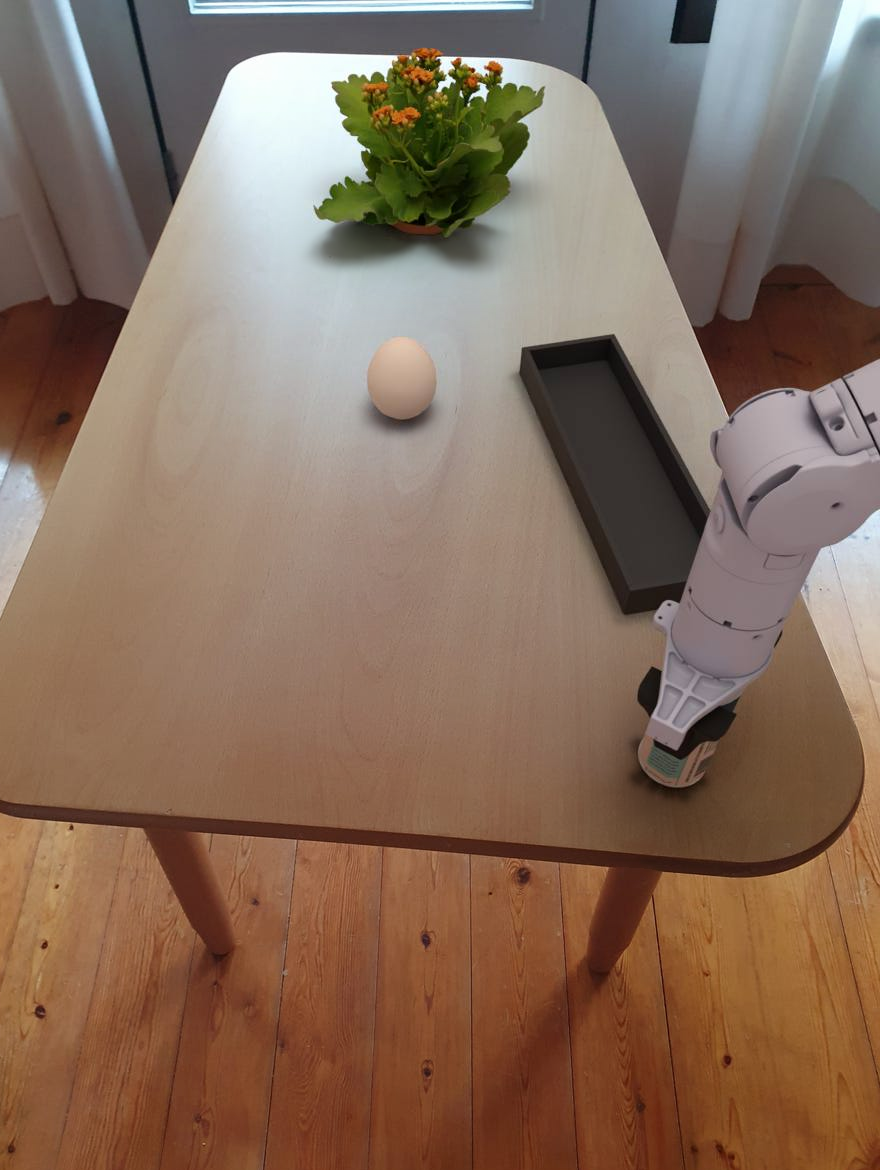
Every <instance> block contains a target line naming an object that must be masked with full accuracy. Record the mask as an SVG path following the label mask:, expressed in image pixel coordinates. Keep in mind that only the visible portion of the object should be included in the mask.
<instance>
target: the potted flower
mask: <svg viewBox="0 0 880 1170" xmlns="http://www.w3.org/2000/svg"><path fill="white" fill-rule="evenodd" d="M443 55H444V52H441V51H440V50H438V49H436V48H432V47H430V49H429V48H428V47H419V48H418V49H413V50H412V52H411V54H410V55H406V54H404V55H403V54H400V55H397V56H396V58H397V60H394V59H392V60H391V66H392V67H389V68H388V70H387V74H386V77H385V76H384V75H383V73H381V72H380V71H373V73H371V76H370V79H368V77H367V76H366V75H365V74H364V73H363V74H361V75H360V76H358V74H357V73H351V74H349V75H348V76H347V80H348V81H347V80H343V81H340V80H336V81H331V82H330V84H331V88H332V90H333V91H334V92H335V93H337V94H336V95H335V96H334V101H335V104H336V106H337V107H338V108H339V113H340V114H341V115H343V116H344V117H345V118H344V119H343V120H342V121H341V126H342V127H343V129H344V130H345V131H346V132H348V133H349V135H350V136H351V137H357V138H356V141H357V142H358V144H360V145H361V146H362V147H364V148H365V150H361V151H360V158H361V162H362V163H363V166H364V167H365V169H367V170H366V171H365V175H366V177H367V178H368V181H365V180H361V181H360V184H359V182H357V181H356V180H354V179H352V178H351V177H350V176H348V175H345V177H344V185H345V186H346V187H345V186H344V185H343V183H341V182H340V181H338V182H337V183H334V184H332V185H331V186H330V188H329V190H328V191H329V192H328V193H329V195H330V197H331V198H329V197H326V198H324V199H323V200H322V201H321V203H322V205H320V206H318V208H317V206H316V205H314V204H313V205H312V206H313V210H314V213H315V216H316V217H317V219H319V220H322V221H324V220H328V221H330V222H333V223H335V224H338V223H341V222H346V221H354V222H357V223H359V222H361V221H363V223H364V224H366V225H371V226H375V225H376V224H378V225H381V224H388V225H391V226H392V227H394V228H395V229H397V230H398V231H401V232H403V233H407V234H408V235H409V234H410V235H430V236H432V235H437V234H440V233H441V234H442V235H443V237H444V238H445V239H446V238H448V237H449V236H450V235H452V234H453V233H454V232H455V231H456V230H457V228H458V229H462V230H465V229H466V230H467V229H468V228H470V227H472V225H473V222H474V221H475V220H476V218H477V217H479V216H482V215H484V214H486V213H487V212H489V210H491V209H492V208H493V207H495V206H497V205H498V204H500V203H501V202H503V201H504V200H505V198H506V197H507V196H509V194H510V193H511V190H510V188H511V180H509V177H508V175H507V174H508V173H509V171H510V170H511V169H512V168H513V167H514V165H516V163H517V162H518V160H519V159H521V157H522V155H523V154H524V151H525V150H526V149H527V147H528V145H529V144H528V143H529V140H530V138H531V133H530V131H529V127H528V125H527V124H525V123H524V122H522V121H521V120H522V119H524V118H526V116H528V115H529V114H531V113H533V112H534V111H536V110H537V109H539V108H541V107H542V105H543V104H544V97H545V89H546V86H545V85H543V86H541V87H540V89H539V90H538V91H537V90H534V89H533V88H532V87H531V86H529V85H523V84H522V85H520V86H519V87H518V86H517V84H516V83H513V82H507V83H505V84H504V85H503V87H502V86H501V85H500V84H502V83H503V77H502V74H503V73H504V71H503V70H504V66H502V65H501V63H499V62H498V61H497V62H496V61H495V60H490V61H488V64H487V65H485V64H484V65H483V69H484V70H485V71H488V73H487V72H486V73H485V74H484V76H483V74H482V73H479V72H476V68H475V67H472V66H469V64H467V63H466V62H465V63H462V57H456V58H455V59H454V60H450V64H451V65H452V67H453V68H452V69H448V72H447V73H445V71H444V70H443V69H442V70H440V69H441V67H440V66H441V65H442V62H441V57H442V56H443ZM447 76H449V78H451V79H452V80H454V81H455V82H454V81H451V82H450V84H449V87H448V86H443V87H442V88H441V89H440V91H437V90H438V89H439V87H440V86H439V84H440V83H441V82H446V81H447V80H448V78H447ZM481 84H482V85H485V86H484V87H485V89H486V90H487V93H486V95H485V98H484V97H482V96H480V95H478V96H475V95H474V96H473V97H472V95H473V94H476V93H477V92H480V90H481ZM519 121H520V122H519ZM369 180H370V181H369Z"/></svg>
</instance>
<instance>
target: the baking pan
mask: <svg viewBox="0 0 880 1170" xmlns="http://www.w3.org/2000/svg"><path fill="white" fill-rule="evenodd" d="M518 373H519V376H520V378H521V381H522V382H523V385H524V387H525V389H526V391H527V394H528V396H529V399H530V401H531V404H532V406H533V408H534V410H535V412H536V415H537V417H538V420H539V422H540V424H541V426H542V428H543V431H544V433H545V436H546V439H547V440H548V442H549V444H550V447H551V450H552V452H553V455H554V457H555V458H556V461H557V464H558V466H559V468H560V470H561V472H562V475H563V477H564V479H565V482H566V484H567V486H568V489H569V490H570V493H571V495H572V498H573V500H574V502H575V504H576V507H577V509H578V512H579V515H580V516H581V519H582V522H583V523H584V526H585V528H586V531H587V532H588V535H589V537H590V539H591V542H592V544H593V547H594V549H595V551H596V554H597V556H598V558H599V561H600V563H601V565H602V568H603V569H604V571H605V574H606V576H607V578H608V581H609V583H610V586H611V588H612V590H613V593H614V595H615V597H616V600H617V601H618V604H619V606H620V609H621V611H622V613H623V615H624V616H625V615H630V614H636V613H642V612H648V611H652V610H658V609H659V607H660V606H661V604H662V603H663V602H664V601H667V600H671V601H674V602H677V603H679V604H680V601H681V598H682V595H683V592H684V589H685V586H686V583H687V580H688V577H689V574H690V571H691V568H692V565H693V562H694V559H695V556H696V553H697V550H698V547H699V544H700V541H701V538H702V535H703V532H704V529H705V525H706V522H707V519H708V517H709V514H710V511H711V508H710V506H709V505H708V503H707V502H706V500H705V498H704V496H703V494H702V492H701V491H700V488H699V486H698V485H697V483H696V482H695V480H694V477H693V476H692V474H691V472H690V470H689V468H688V466H687V465H686V463H685V460H684V459H683V457H682V456H681V453H680V452H679V450H678V448H677V447H676V445H675V443H674V441H673V439H672V437H671V436H670V433H669V432H668V430H667V428H666V427H665V423H664V422H663V421H662V419H661V418H660V415H659V413H658V411H657V410H656V408H655V406H654V404H653V402H652V400H651V399H650V397H649V396H648V395H649V394H648V393H647V391H646V389H645V388H644V386H643V384H642V382H641V380H640V378H639V377H638V375H637V373H636V371H635V369H634V368H633V366H632V364H631V362H630V360H629V359H628V357H627V355H626V353H625V351H624V349H623V347H622V346H621V344H620V341H619V340H618V338H617V336H616V334H615V333H611V334H610V333H609V334H603V335H597V336H589V337H582V338H576V339H570V340H564V341H557V342H550V343H543V344H536V345H529V346H522V347H521V352H520V362H519V372H518Z"/></svg>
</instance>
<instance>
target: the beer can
mask: <svg viewBox="0 0 880 1170" xmlns="http://www.w3.org/2000/svg"><path fill="white" fill-rule="evenodd" d="M745 689H746V687H745V688H743V689H742V690H740V691H739V692H738V693H736V694H735V695H733V696H732V697H730V698H729V699H728V700H726V701H725V702H723V703H722V704H720V706H722V707H724V708H726V709H728V710H730V711H732V712H734V711H735V708H736V706H737V704H738V702H739V700H740V698H741V696H742V694H743V692H744V691H745ZM646 730H647V728H646ZM646 730H645V732H644V736H643V737H642V740H641V741H640V743H639V745H638V749H637V755H638V762H639V764H640V767H641V768H642V770H643V771H644V772H645V774H647V776H648V777H649V778H650V779H652V780H653V781H655V782H656V783H658V784H660V785H664V786H666V787H670V788H685V787H689V786H692V785H693V784H696V783H697V782H698V781H700V780H701V779H702V778H703V776H704V774H705V773H706V771H707V768H708V766H709V763H710V761H711V759H712V758H713V755H714V753H715V751H716V749H717V746H718V744H719V743H720V741H721V738H720V739H719V740H718V741H715V742H712V741H708V742H704V743H702V744H700V745H699V746H697V747H696V748H695V750H694V751H693V752H692V753H691V754H690V755H688V756H687V757H686V758H684V759H683V760H679V759H677V758H675V757H673V756H672V755H670V754H668V753H666V752H664V751H662V750H660V749H658V748H656V747H655V746H654V741H653V738H651V737H649V736H648V735H646V734H645V733H646Z"/></svg>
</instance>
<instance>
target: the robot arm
mask: <svg viewBox="0 0 880 1170" xmlns="http://www.w3.org/2000/svg"><path fill="white" fill-rule="evenodd" d="M709 438H710V439H709V447H710V452H711V455H712V457H713V460H714V462H715V463H716V465H717V467H718V468H719V469H720V471H721V476H720V479H719V482H718V485H717V491H716V494H715V496H714V499H713V502H712V505H711V508H710V514H709V517H708V519H707V522H706V525H705V529H704V532H703V535H702V538H701V541H700V544H699V547H698V550H697V553H696V556H695V559H694V562H693V565H692V568H691V571H690V574H689V577H688V580H687V583H686V586H685V589H684V592H683V595H682V598H681V601H680V604H679V603H677V602H674V601H671V600H667V601H664V602H663V603H662V604H661V606H660V607H659V609H656V611H655V613H654V615H653V618H652V622H651V624H652V627H653V628H654V629H655V630H657V631H658V632H661V633H662V634H663V635H664V638H665V641H664V650H663V658H662V664H661V665H662V667H661V669H659V668H657V667H655V666H653V665H652V666H650V668H649V669H648V670H647V673H646V674H645V676H644V677H643V679H642V680H641V682H640V683H639V686H638V689H637V695H636V701H637V703H638V704H639V705H640V706H641V707H642V709H644V711H645V712H646V714H647V715H648V717H649V721H648V724H647V727H646V729H647V730H645V732H646V733H645V732H644V735H645V734H646V735H648V736H649V737H651V738H653V741H654V746H655V747H656V748H658V749H660V750H662V751H664V752H666V753H668V754H670V755H672V756H673V757H675V758H677V759H679V760H683V759H684V758H686V757H687V756H688V755H690V754H691V753H692V752H693V751H694V750H695V748H696V747H697V746H699V745H700V744H702V743H704V742H708V741H712V742H715V741H718V740H719V739H720V740H721V739H722V738H723V737H724V736H725V735H726V734H727V733H728V731H729V729H730V728H731V726H732V724H733V722H734V721H735V719H736V717H737V715H738V714H737V713H736V712H734V711H733V712H732V711H730V710H728V709H726V708H724V707H722V706H720V704H722V703H723V702H725V701H726V700H728V699H729V698H730V697H732V696H733V695H735V694H736V693H738V692H739V691H740V690H742V689H743V688H745V689H746V687H748V686H749V685H750V684H752V683H754V682H755V681H756V680H758V679H759V678H760V677H761V676H762V675H763V674H764V673H765V672H766V671H767V669H768V667H769V666H770V663H771V661H772V659H773V656H774V652H775V649H776V647H777V645H778V644H779V642H780V640H781V639H782V635H783V628H784V626H785V624H786V622H787V619H788V618H789V615H790V614H791V611H792V609H793V608H794V605H795V603H796V601H797V599H798V597H799V595H800V593H801V591H802V589H803V586H804V584H805V583H806V581H807V578H808V576H809V574H810V572H811V570H812V568H813V566H814V564H815V561H816V559H817V558H818V555H819V553H820V551H821V549H823V548H826V547H830V546H831V547H832V546H834V545H837V544H839V543H841V542H842V541H844V540H845V539H847V538H849V537H850V536H851V535H853V534H854V533H856V532H857V531H858V530H859V529H860V528H861V527H862V526H863V525H864V524H865V522H867V521H868V520H869V518H870V517H871V516H872V515H873V514H874V513H876V512H877V511H879V510H880V358H879V359H876V360H874V361H872V362H870V363H868V364H866V365H864V366H862V367H860V368H858V369H856V370H854V371H852V372H850V373H847V374H845V375H843V376H842V378H841V377H840V378H836V379H835V380H834V381H831V382H829V383H827V384H825V385H823V386H821V387H819V388H817V389H815V390H812V391H808V390H803V389H800V388H795V387H784V388H783V387H780V388H775V389H770V390H766V391H764V392H761V393H759V394H757V395H755V396H753V397H751V398H749V399H747V400H746V401H745V402H742V403H741V405H739V406H738V407H737V408H736V409H735V410H734V411H733V412H732V413H731V415H730V416H729V417H728V419H727V421H726V422H725V424H724V425H723V426H722V427H717V428H714V429H713V430H712V431H711V432H710V437H709ZM720 740H719V741H720Z"/></svg>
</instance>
